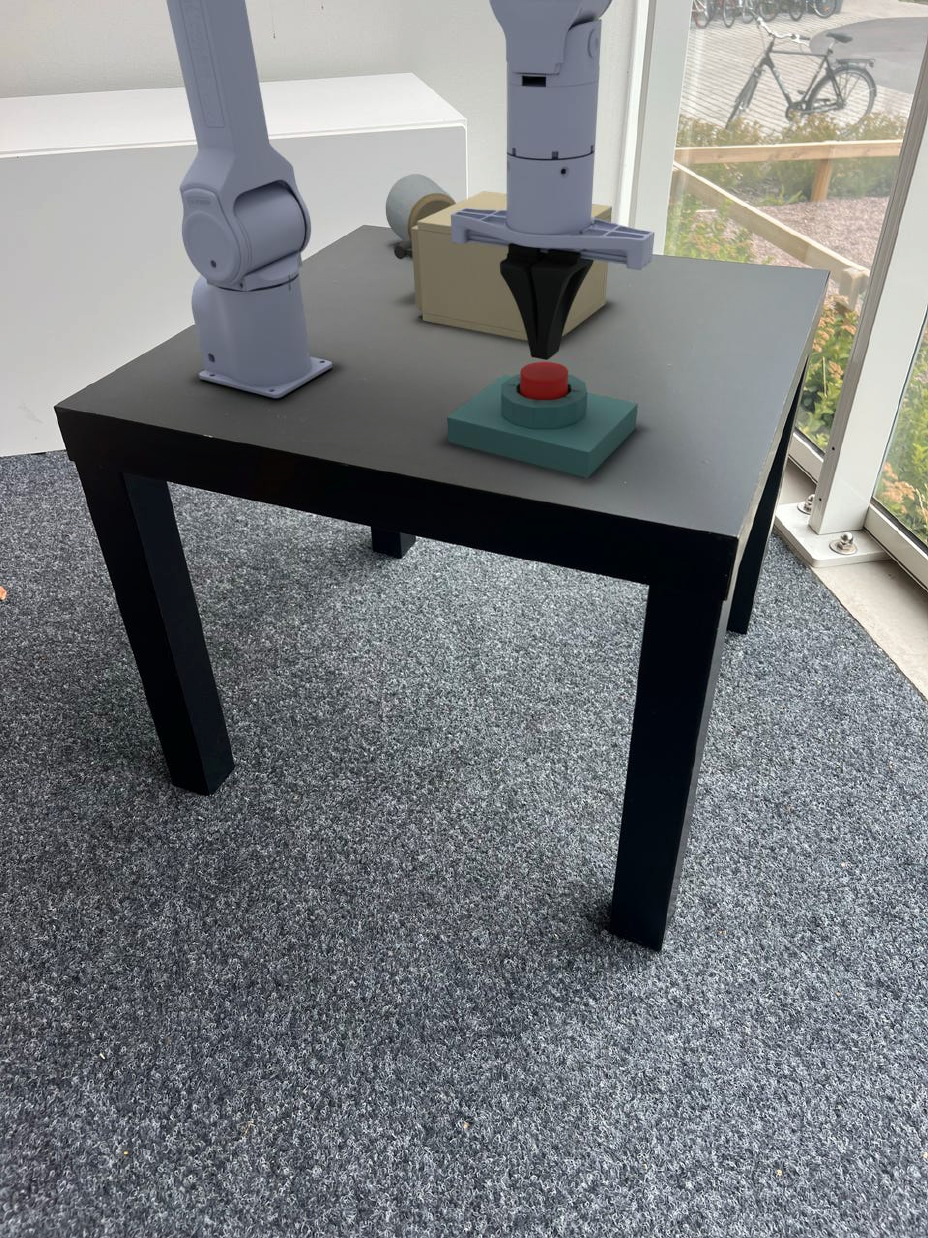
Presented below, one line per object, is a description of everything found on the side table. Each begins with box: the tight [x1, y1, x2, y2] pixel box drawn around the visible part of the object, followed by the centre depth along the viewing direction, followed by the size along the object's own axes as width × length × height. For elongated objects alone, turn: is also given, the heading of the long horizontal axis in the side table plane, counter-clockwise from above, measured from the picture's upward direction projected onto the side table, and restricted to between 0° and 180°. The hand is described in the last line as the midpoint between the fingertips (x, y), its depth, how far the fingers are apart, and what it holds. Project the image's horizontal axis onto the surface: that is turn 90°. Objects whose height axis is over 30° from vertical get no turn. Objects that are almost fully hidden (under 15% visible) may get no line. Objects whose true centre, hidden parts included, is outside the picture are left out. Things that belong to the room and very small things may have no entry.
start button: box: [519, 361, 569, 400], centre depth 67 cm, size 4×4×2 cm
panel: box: [446, 373, 639, 479], centre depth 69 cm, size 12×9×4 cm
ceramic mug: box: [385, 173, 457, 242], centre depth 108 cm, size 11×8×8 cm
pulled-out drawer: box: [393, 225, 422, 310], centre depth 90 cm, size 18×11×8 cm, turn 59°
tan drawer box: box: [417, 190, 613, 342], centre depth 88 cm, size 15×13×10 cm
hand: (544, 353), depth 66 cm, fingers closed
